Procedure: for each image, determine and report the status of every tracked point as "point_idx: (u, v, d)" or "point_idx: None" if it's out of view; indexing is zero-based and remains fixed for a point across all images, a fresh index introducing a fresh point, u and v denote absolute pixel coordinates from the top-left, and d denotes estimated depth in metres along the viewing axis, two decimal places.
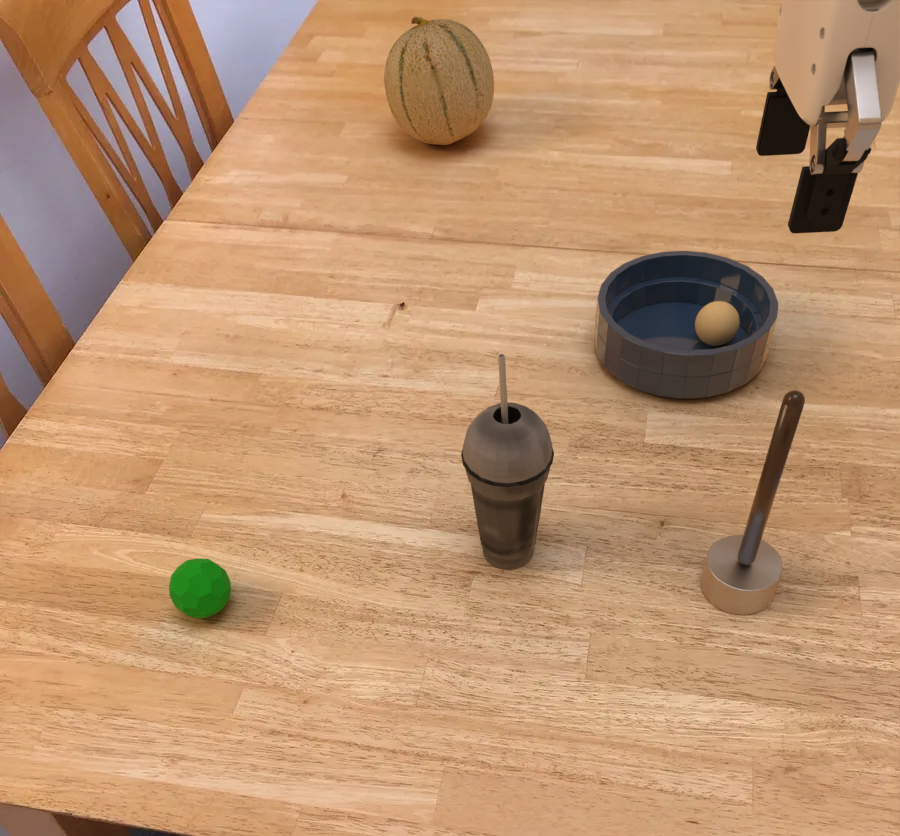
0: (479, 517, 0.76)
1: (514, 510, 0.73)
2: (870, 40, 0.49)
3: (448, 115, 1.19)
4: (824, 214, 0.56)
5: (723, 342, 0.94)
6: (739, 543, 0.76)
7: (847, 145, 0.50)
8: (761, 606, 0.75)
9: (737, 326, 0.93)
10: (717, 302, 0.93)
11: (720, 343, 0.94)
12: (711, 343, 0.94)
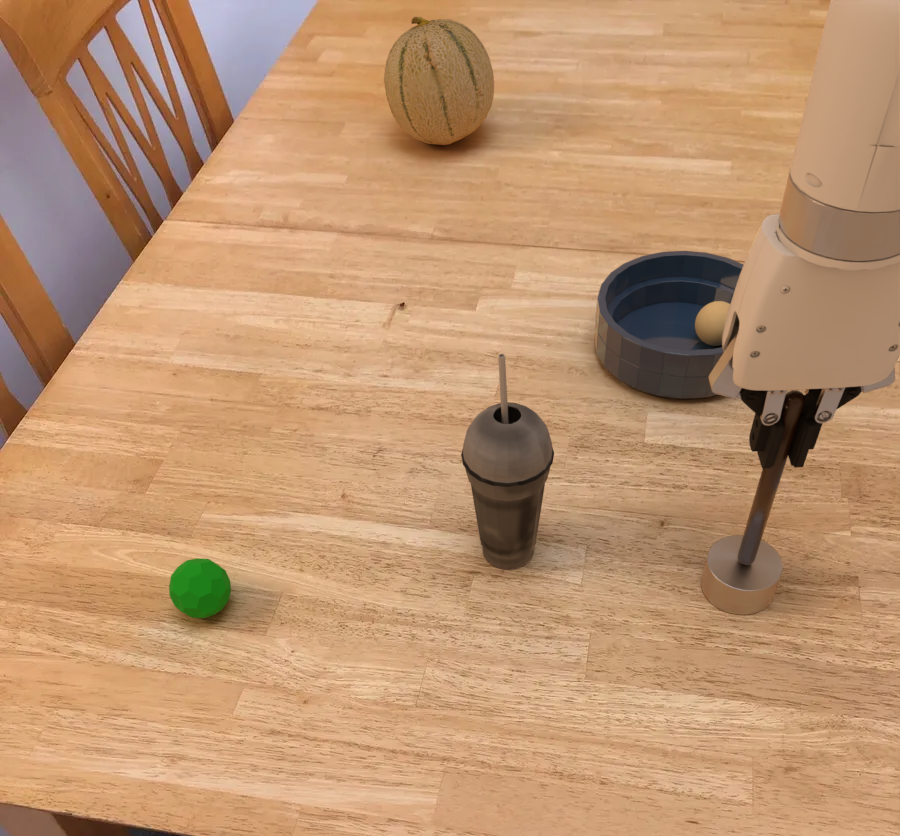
0: (479, 517, 0.76)
1: (514, 509, 0.73)
2: None
3: (448, 115, 1.19)
4: None
5: None
6: (739, 543, 0.76)
7: (867, 390, 0.60)
8: (761, 606, 0.75)
9: None
10: (717, 302, 0.93)
11: (720, 343, 0.94)
12: (711, 343, 0.94)
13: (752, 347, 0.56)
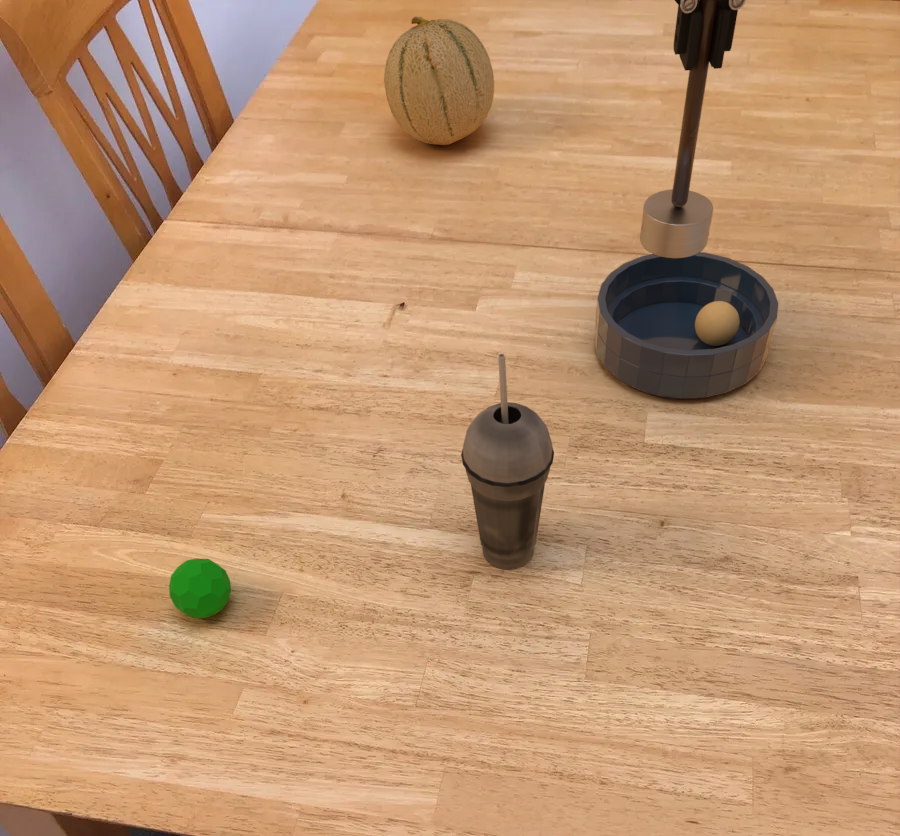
0: (479, 517, 0.76)
1: (514, 509, 0.73)
2: None
3: (448, 115, 1.19)
4: None
5: (723, 342, 0.94)
6: None
7: None
8: (693, 248, 0.81)
9: (737, 326, 0.93)
10: (717, 302, 0.93)
11: (720, 343, 0.94)
12: (711, 343, 0.94)
13: None
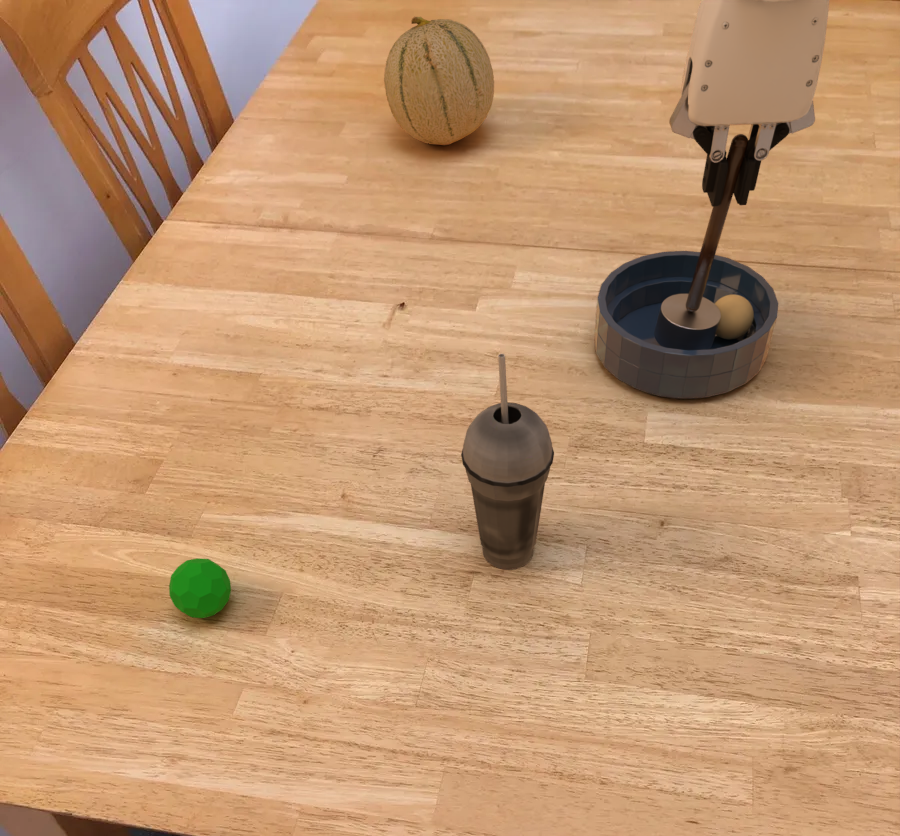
0: (479, 517, 0.76)
1: (514, 509, 0.73)
2: None
3: (448, 115, 1.19)
4: None
5: (722, 335, 0.95)
6: (687, 298, 0.93)
7: (794, 130, 0.78)
8: (701, 348, 0.92)
9: (742, 334, 0.94)
10: (748, 301, 0.93)
11: (720, 334, 0.95)
12: None
13: (702, 81, 0.73)
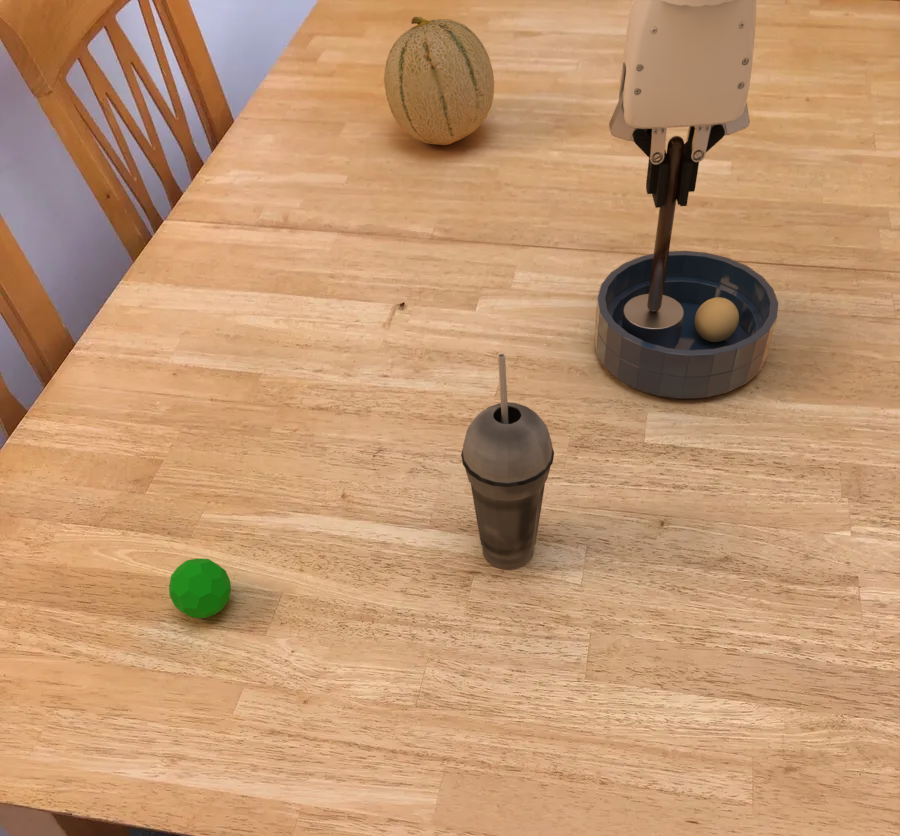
0: (479, 517, 0.76)
1: (514, 509, 0.73)
2: None
3: (448, 115, 1.19)
4: None
5: None
6: None
7: (729, 132, 0.79)
8: None
9: None
10: (727, 321, 0.93)
11: None
12: None
13: (635, 85, 0.74)
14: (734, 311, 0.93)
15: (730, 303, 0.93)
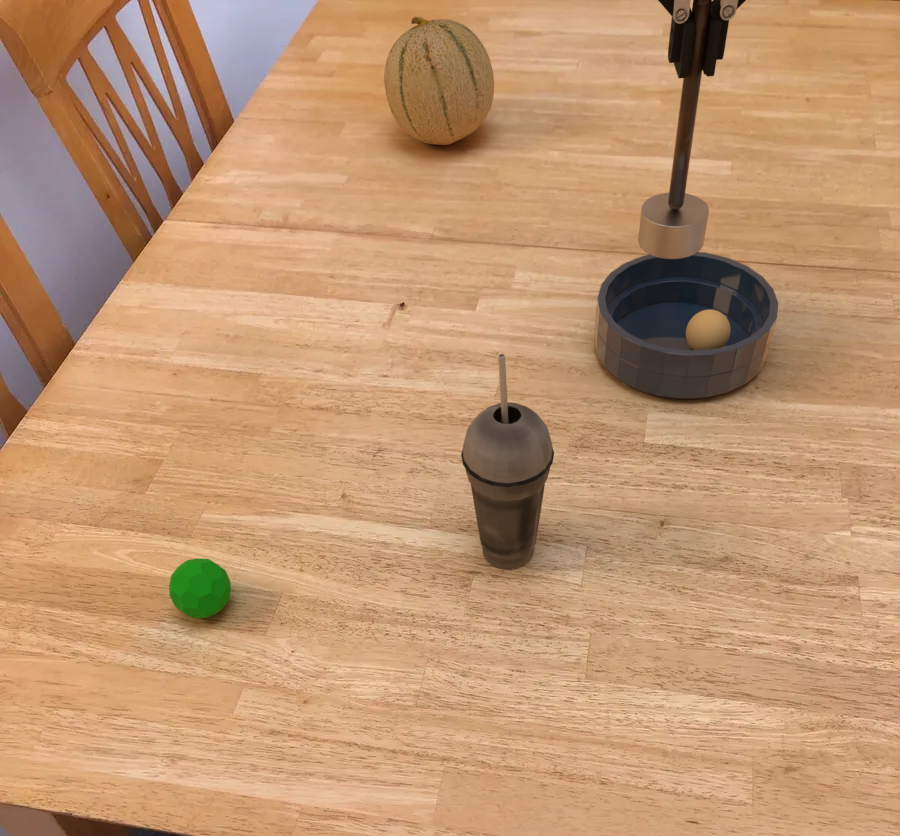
0: (479, 517, 0.76)
1: (514, 509, 0.73)
2: None
3: (448, 115, 1.19)
4: None
5: None
6: None
7: None
8: (686, 250, 0.84)
9: None
10: None
11: None
12: None
13: None
14: (720, 336, 0.92)
15: (713, 330, 0.92)
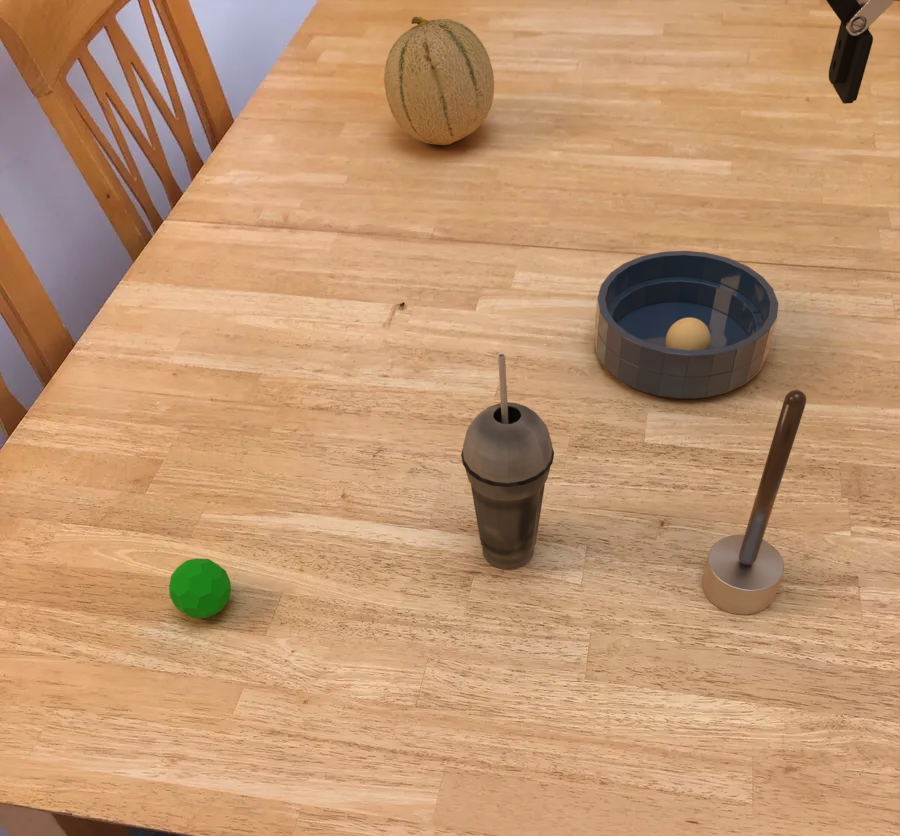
0: (479, 517, 0.76)
1: (514, 509, 0.73)
2: None
3: (448, 115, 1.19)
4: None
5: None
6: None
7: None
8: (758, 607, 0.75)
9: None
10: None
11: None
12: None
13: None
14: (703, 347, 0.92)
15: None
